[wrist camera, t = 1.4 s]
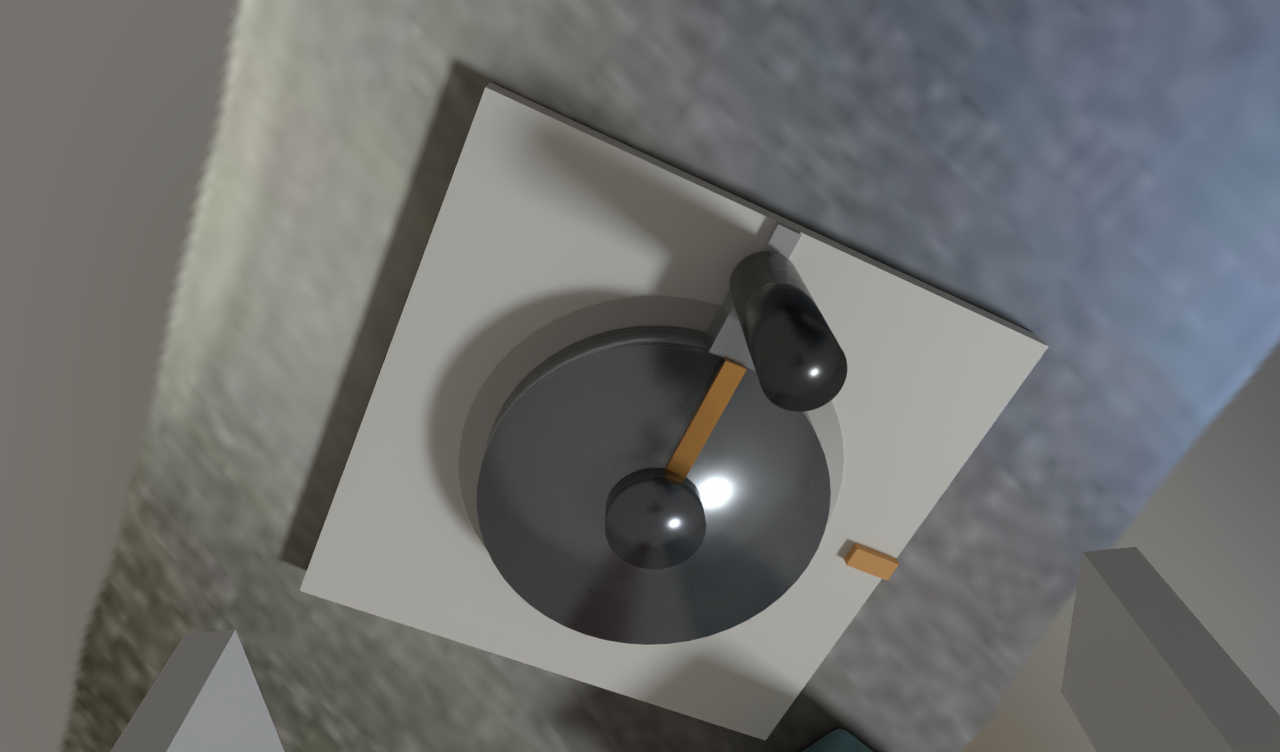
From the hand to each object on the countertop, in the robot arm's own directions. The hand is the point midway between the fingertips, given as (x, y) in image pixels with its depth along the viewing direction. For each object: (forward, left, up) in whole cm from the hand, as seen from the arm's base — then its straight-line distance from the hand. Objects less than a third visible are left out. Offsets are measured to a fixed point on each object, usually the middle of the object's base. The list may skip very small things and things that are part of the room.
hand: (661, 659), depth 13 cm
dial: (+6, +4, -19) cm, 20 cm away
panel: (+8, +4, -20) cm, 22 cm away
